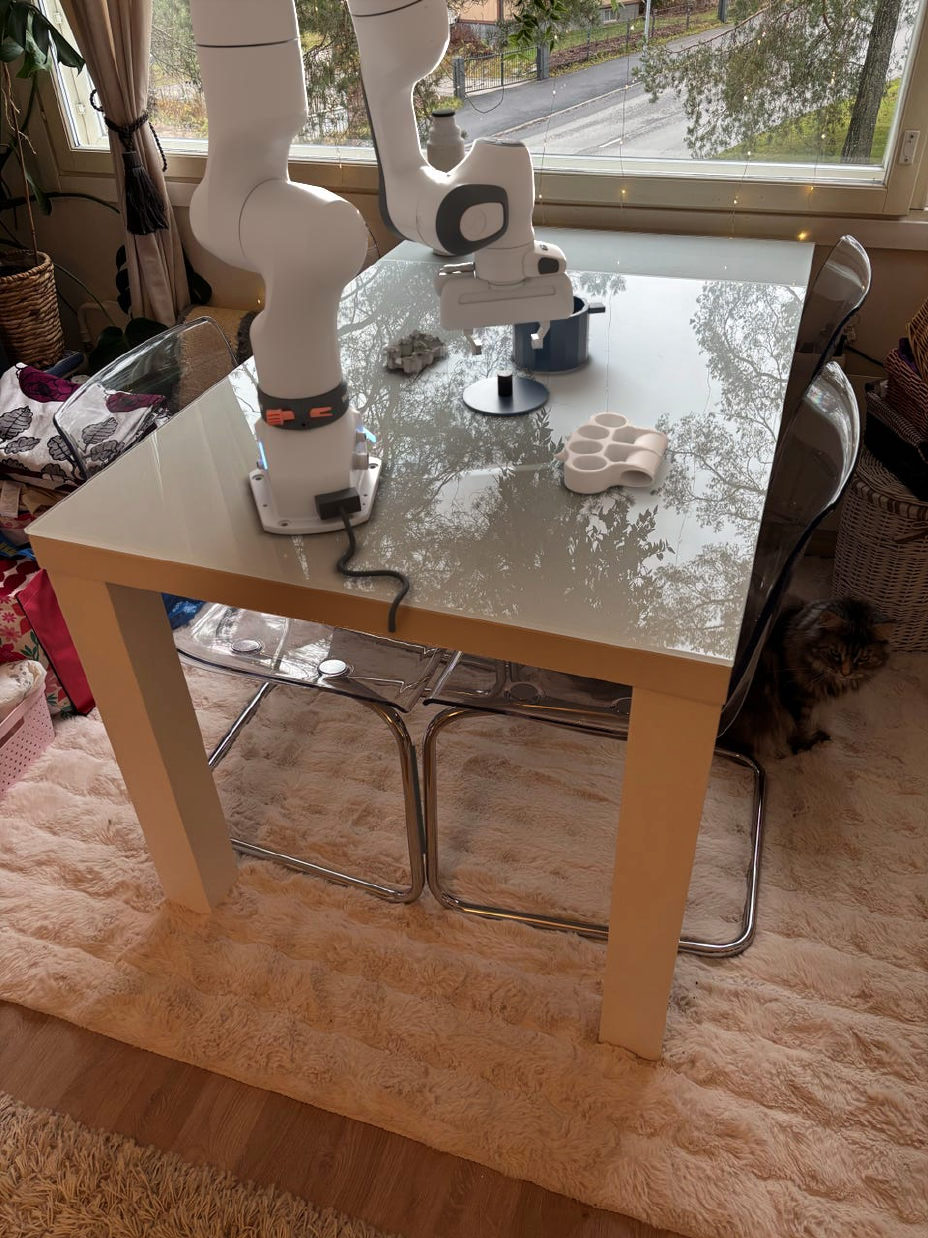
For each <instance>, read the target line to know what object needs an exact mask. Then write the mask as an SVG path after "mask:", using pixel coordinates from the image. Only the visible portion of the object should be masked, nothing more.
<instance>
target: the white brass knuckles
mask: <svg viewBox="0 0 928 1238" xmlns="http://www.w3.org/2000/svg"><path fill="white" fill-rule="evenodd" d="M563 438H565V440H566V441H565V442H564V445H563V450H562V451H560V452H558V453H556V454H553V455H552V457H553V458H555V459H557V460H559V461H560V462H562V463H563V470H564V471H563V478H564V479H563V483H564V486H565V487H566V488H567V489H568V490H570V491H572V492H574V493H577V494H582V495H594V494H599V493H602V492H604V491H606V490H607V489H608V488H610V487H616V486H622V487H628V488H645V487H648V486H651V485H652V484H654V483H655V478H656V475H657V472H658V471H659V467H660V466H661V464H662V460H663V457H664V455H665V452H666V449H667V448H668V447H669V441H670V438H669V436H668V435H667V434H666V433H664V432H663V431H660V430H659V429H653V428H650V427H643V426H636V425H634V424H632V423H631V421H630V420H629V418H628V417H627V416H625V415H624V414H620V413H617V412H608V411H607V412H598V413H594V414H592V415H590V416H589V419H588V421H587V422H586V423H583V424H580V425H577V426H576V427H575V428H574V429H573V430H571V431H570V433H569V435H565V436H563Z"/></svg>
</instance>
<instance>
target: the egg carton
mask: <svg viewBox="0 0 928 1238" xmlns="http://www.w3.org/2000/svg"><path fill="white" fill-rule="evenodd" d="M447 342H448V341H447V339H444V340H441V339H440V337H439V336H438V335H437V336H434V335H433V334H429V333H428V332H425V333H424V332H422V331H420V330H418V329H414V330H413V331H412V332H411V333H410V334H409V335H407V336H405V337H400V339H398V340H397V341H396V342H394V343H393V344H391V345H387V346H384V347H383V349H382V354H381V356H382V357H386V365H387V366H388V369H391V370H395V369H403V372H404V373H408V374H410V373H413V372H420V371H422V369H423V366H424V365H431V364H432V363H433V360H434V358H442V357H443V356H444V347H446V346H447V345H446V343H447ZM410 355H411V356H410ZM401 356H402V357H401Z"/></svg>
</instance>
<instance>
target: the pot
mask: <svg viewBox="0 0 928 1238" xmlns="http://www.w3.org/2000/svg"><path fill="white" fill-rule="evenodd" d="M573 299H574V311H573V313H572V314H571V316H570V317H569V318H567V319H558V320H550V328H549V330H548V331H547V333H546V335H545V336H544V338H543V348H540V349H533V347H532V342H531V341H532V339H531V335H533V334H537V332H538V330H539V328H540V324H539V322H530V323H520V324H511V325H512V326H511V327H512V328H511V331H512V359H513V361H514V363H515V364H516V365H518V366H519V367H521V368H522V369H525V370H530V371H533V372H543V373H557V372H566V371H569V370H573V369H577V368H579V367H580V366H582V365H583V364H585V363H586V362H587V359H588V357H589V342H590V341H589V340H590V339H589V338H590V337H589V336H590V316H591V315H595V314H605V313H606V311H607V310H606V308H607V307H606V305H605V303H604V302H603V301H597V302H596V301H595V302H589V300H588V299H587V298H585V297H583V296H582V295H579V294H577V293H573Z"/></svg>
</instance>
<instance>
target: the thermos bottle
mask: <svg viewBox="0 0 928 1238" xmlns="http://www.w3.org/2000/svg"><path fill="white" fill-rule="evenodd" d="M431 117H432V126H431V127H429V129H428V137H429V138H428V139H427V141H426V142H425V143H426V156H427V159H426V161H427V162H428V163H429V164H430V165H431V166H432V167H433V168H434V169H435V170H437V171H440V172H444V173H448V172H450V171H451V170H453V169H454V168H455V167H457V166H458V165H459V164H460V163H461V162H462V161H463V160H464V159H465V157H466V150H465V148H466V147H465V139H464V138H463V137H462V135H461V134H462V131H461V130H462V129H461V127H460V126H459V125H457V118H456V110H455V109H451V108H443V109H442V108H441V109H440V108H439V109H435V110H432V111H431ZM432 251H433V253H434V254H436V255H439V256H452V255H451V254H448V253H445V252H442V251H440V250H436V249H433V248H432Z"/></svg>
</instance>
